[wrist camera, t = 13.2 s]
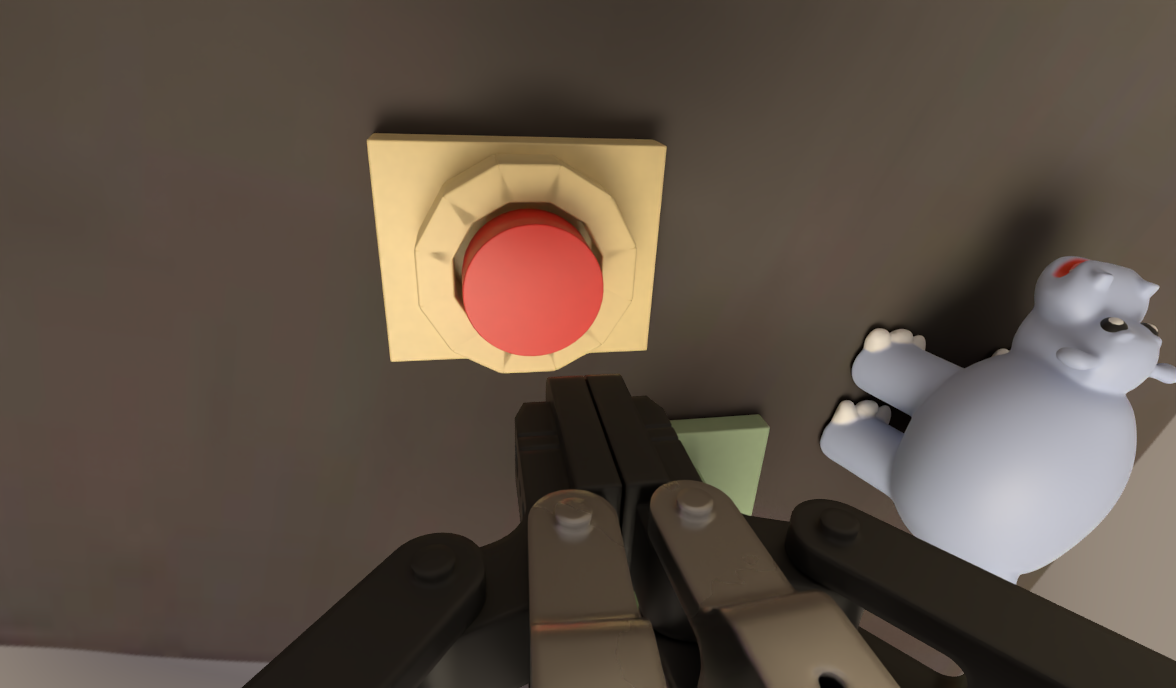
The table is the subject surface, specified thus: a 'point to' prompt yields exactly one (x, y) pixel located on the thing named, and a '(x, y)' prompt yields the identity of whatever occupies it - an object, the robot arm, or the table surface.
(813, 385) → the table surface
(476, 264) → the button
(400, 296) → the button box
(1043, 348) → the hippopotamus toy
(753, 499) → the bracket
